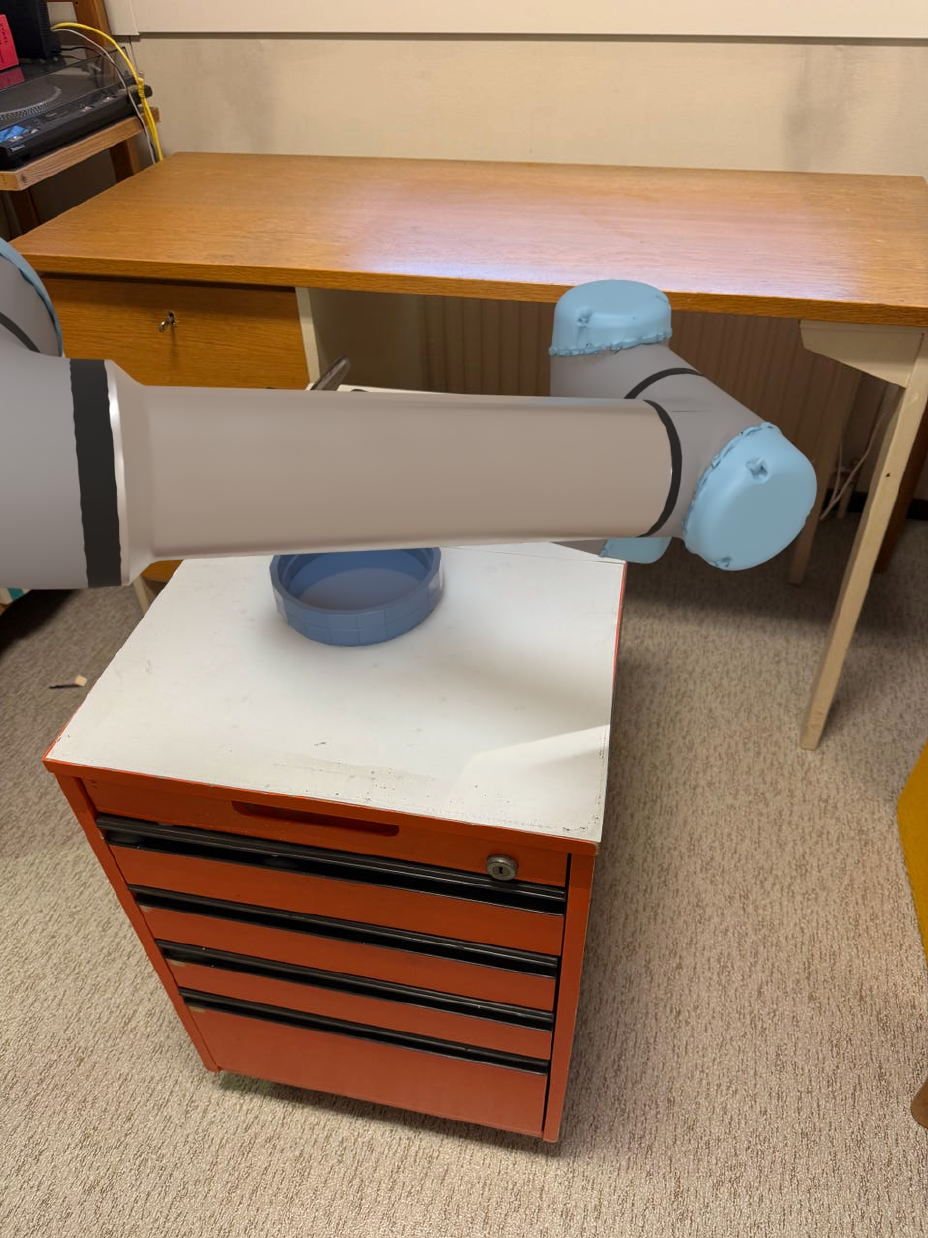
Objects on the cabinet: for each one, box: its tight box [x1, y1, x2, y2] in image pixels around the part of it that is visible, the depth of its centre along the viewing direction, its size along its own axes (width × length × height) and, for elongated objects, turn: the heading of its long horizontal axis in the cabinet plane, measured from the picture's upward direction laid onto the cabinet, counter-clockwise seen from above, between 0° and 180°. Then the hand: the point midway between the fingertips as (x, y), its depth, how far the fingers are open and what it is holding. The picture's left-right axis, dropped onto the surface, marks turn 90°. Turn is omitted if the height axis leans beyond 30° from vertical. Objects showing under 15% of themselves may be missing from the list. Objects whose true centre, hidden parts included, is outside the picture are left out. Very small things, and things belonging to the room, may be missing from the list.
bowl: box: [268, 547, 444, 647], centre depth 93 cm, size 18×18×4 cm
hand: (242, 421), depth 77 cm, fingers closed on wooden mug, 7 cm apart
